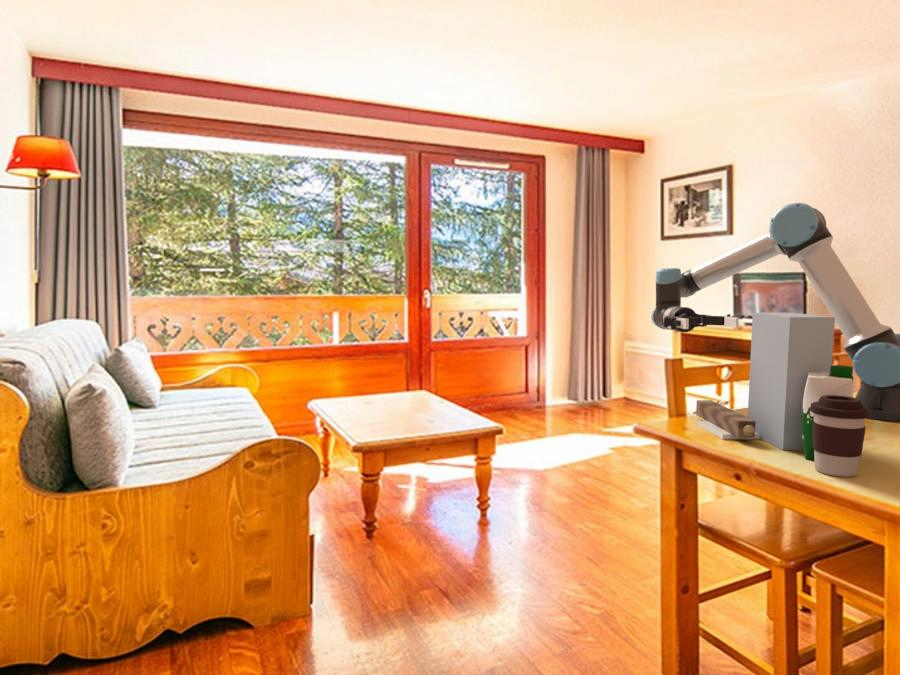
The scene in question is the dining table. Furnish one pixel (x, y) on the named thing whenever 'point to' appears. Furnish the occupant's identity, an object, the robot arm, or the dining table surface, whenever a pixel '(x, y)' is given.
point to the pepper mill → (726, 419)
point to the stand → (785, 371)
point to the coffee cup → (838, 434)
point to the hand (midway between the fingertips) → (712, 323)
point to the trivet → (721, 431)
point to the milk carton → (819, 386)
